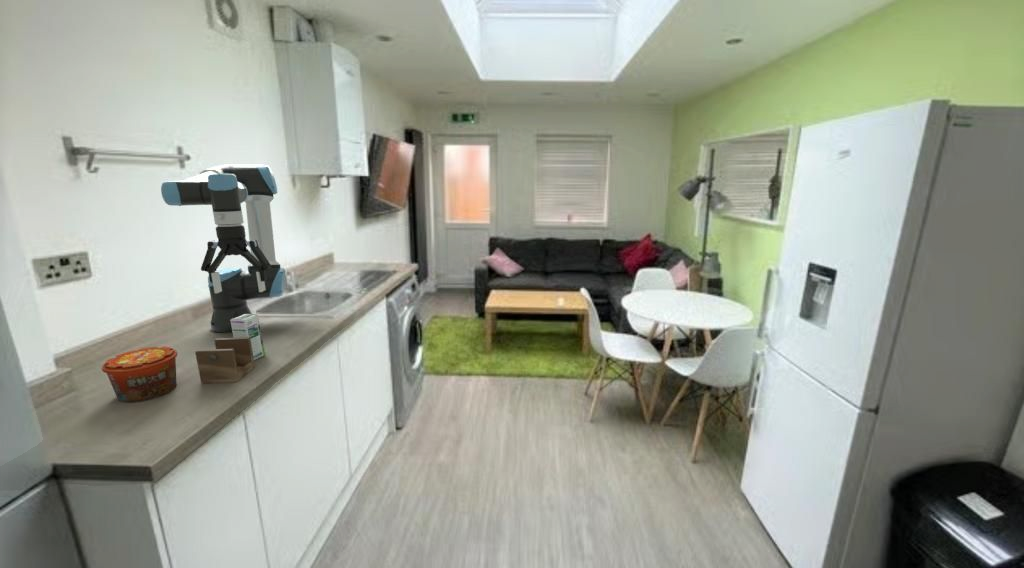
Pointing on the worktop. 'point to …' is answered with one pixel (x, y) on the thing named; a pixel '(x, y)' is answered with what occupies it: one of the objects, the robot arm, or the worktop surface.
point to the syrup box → (249, 332)
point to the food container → (142, 373)
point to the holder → (226, 360)
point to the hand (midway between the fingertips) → (240, 291)
